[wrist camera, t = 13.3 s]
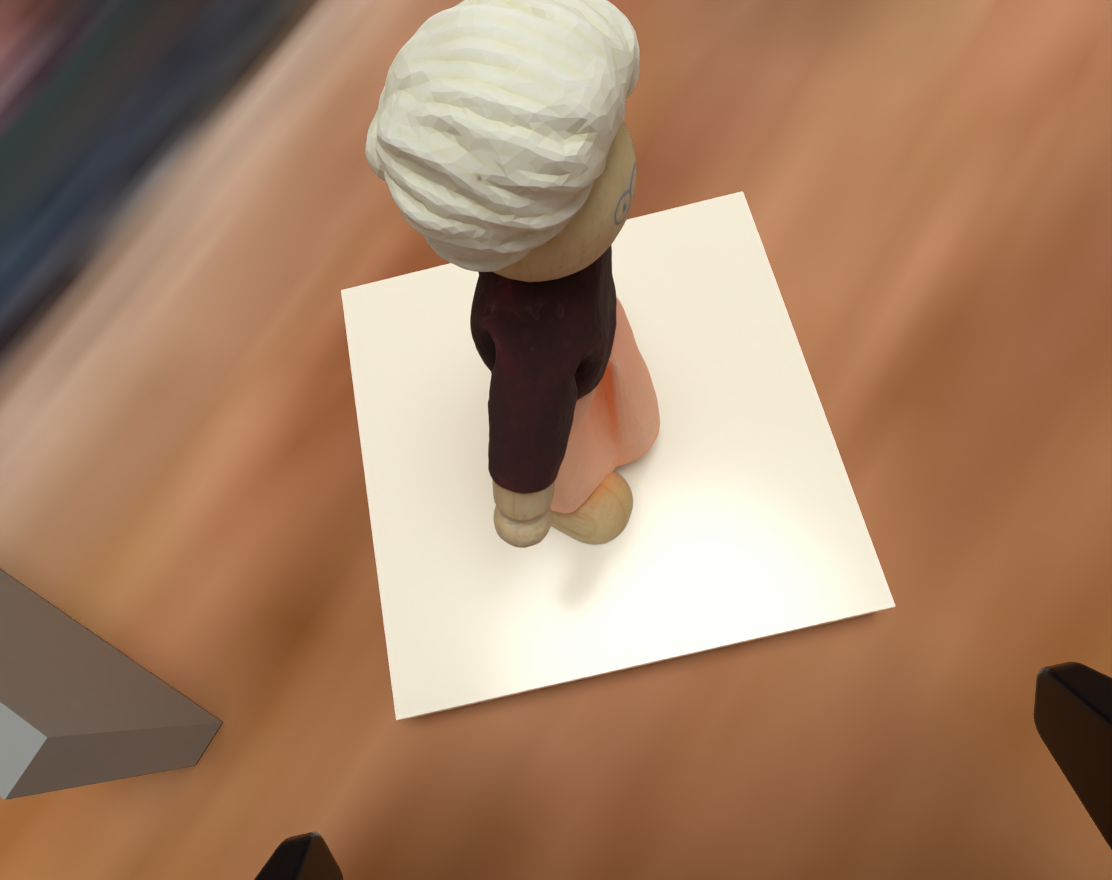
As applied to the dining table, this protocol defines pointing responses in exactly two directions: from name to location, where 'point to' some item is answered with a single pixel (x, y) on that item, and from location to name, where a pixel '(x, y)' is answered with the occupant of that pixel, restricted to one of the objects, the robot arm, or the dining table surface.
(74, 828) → the dining table surface
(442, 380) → the ceramic tile
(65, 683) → the open crate
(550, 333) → the grandmother figurine
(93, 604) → the dining table surface
